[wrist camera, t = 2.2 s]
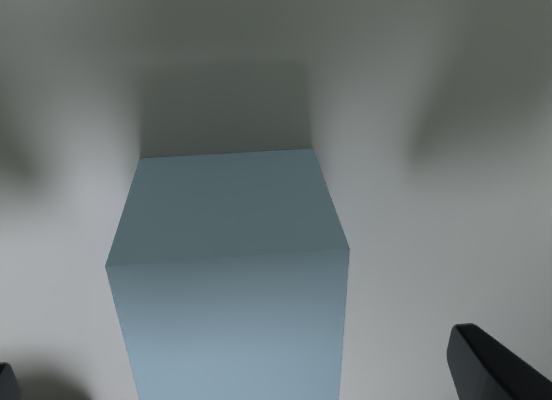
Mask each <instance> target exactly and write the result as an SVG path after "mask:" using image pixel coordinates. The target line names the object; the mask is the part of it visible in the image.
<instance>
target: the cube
mask: <svg viewBox="0 0 552 400" xmlns="http://www.w3.org/2000/svg"><path fill="white" fill-rule="evenodd" d="M349 250H350V248H349V245H348V243H347V240H346V237H345V234H344V232H343V229H342V226H341V224H340V221H339V218H338V216H337V213H336V210H335V208H334V205H333V202H332V199H331V197H330V194H329V191H328V189H327V186H326V183H325V181H324V178H323V175H322V172H321V170H320V167H319V164H318V162H317V159H316V156H315V154H314V151H313V148H310V149H292V150H275V151H258V152H240V153H223V154H206V155H188V156H171V157H154V158H140V160H139V163H138V166H137V169H136V172H135V175H134V178H133V182H132V185H131V188H130V191H129V194H128V197H127V200H126V203H125V206H124V210H123V213H122V216H121V219H120V222H119V225H118V228H117V231H116V234H115V237H114V241H113V244H112V247H111V250H110V253H109V256H108V259H107V262H106V265H105V268H106V272H107V275H108V279H109V283H110V287H111V291H112V295H113V299H114V303H115V307H116V310H117V314H118V318H119V322H120V326H121V330H122V334H123V338H124V342H125V345H126V349H127V353H128V357H129V361H130V365H131V369H132V373H133V377H134V380H135V384H136V388H137V392H138V396H139V400H339V388H340V374H341V361H342V347H343V333H344V319H345V305H346V292H347V278H348V264H349Z"/></svg>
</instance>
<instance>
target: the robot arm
mask: <svg viewBox="0 0 552 400" xmlns="http://www.w3.org/2000/svg"><path fill="white" fill-rule="evenodd" d="M447 362H448V365H449V368H450V371H451V375H452V378H453V381H454V384H455V387H456V390H457V394H458V397H459V400H552V382H551V381H550V380H549V379H547V378H546V377H545V376H543V375H542V374H541V373H539V372H538V371H537V370H535V369H534V368H533V367H531V366H530V365H529V364H527V363H526V362H525V361H523V360H522V359H521V358H519V357H518V356H517V355H515V354H514V353H513V352H511V351H510V350H509V349H507V348H506V347H505V346H503V345H502V344H501V343H499V342H498V341H497V340H496V339H494V338H493V337H492V336H490V335H489V334H488V333H486V332H485V331H484V330H482V329H481V328H480V327H478V326H477V325H475V324H472V323H466V324H456V325H454V326H453V328H452V330H451V335H450V339H449V343H448V348H447ZM0 400H22V391H21V387H20V385H19V383H18V381H17V378H16V376H15V374H14V372H13V369H12V367H11V365H10V364H8V363H6V362H2V363H0Z"/></svg>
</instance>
